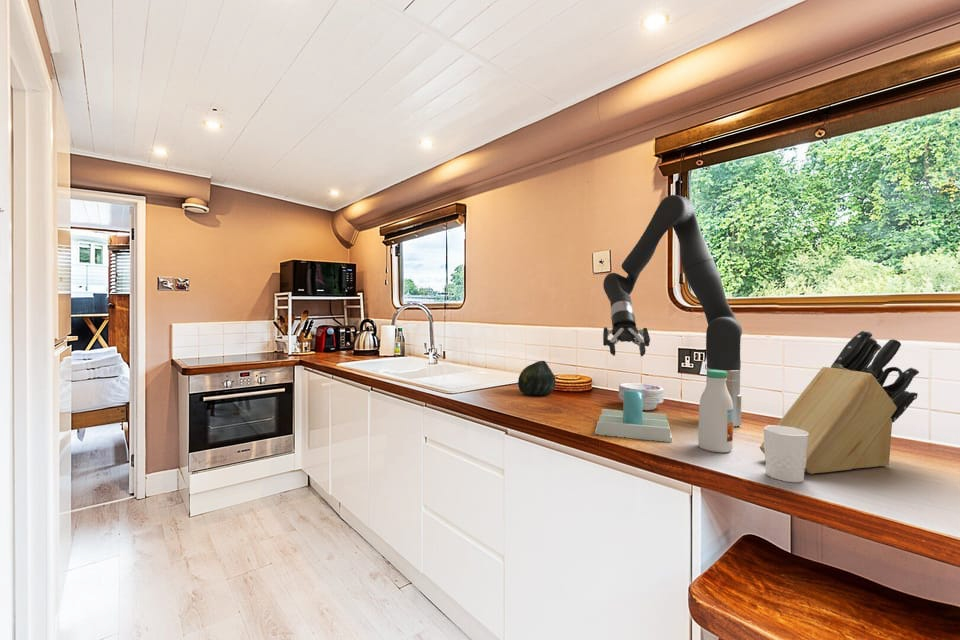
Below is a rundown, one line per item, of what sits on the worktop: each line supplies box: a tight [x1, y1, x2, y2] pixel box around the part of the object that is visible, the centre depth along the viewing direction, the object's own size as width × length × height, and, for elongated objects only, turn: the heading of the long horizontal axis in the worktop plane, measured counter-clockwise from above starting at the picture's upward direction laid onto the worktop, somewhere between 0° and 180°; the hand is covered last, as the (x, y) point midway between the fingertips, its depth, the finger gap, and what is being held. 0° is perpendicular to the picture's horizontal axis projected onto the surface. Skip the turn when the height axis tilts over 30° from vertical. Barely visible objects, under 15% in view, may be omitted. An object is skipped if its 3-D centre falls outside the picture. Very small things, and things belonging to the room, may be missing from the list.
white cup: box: [763, 424, 809, 483], centre depth 94 cm, size 8×8×10 cm
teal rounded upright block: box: [622, 390, 644, 425], centre depth 126 cm, size 5×5×11 cm
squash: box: [517, 360, 556, 397], centre depth 181 cm, size 14×15×15 cm
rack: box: [594, 408, 673, 443], centre depth 129 cm, size 20×17×4 cm
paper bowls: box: [618, 382, 664, 411], centre depth 160 cm, size 15×15×8 cm
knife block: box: [759, 329, 920, 475], centre depth 104 cm, size 11×35×31 cm, turn 105°
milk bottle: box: [697, 369, 734, 454], centre depth 113 cm, size 8×8×20 cm
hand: (628, 354), depth 139 cm, fingers open, 8 cm apart
